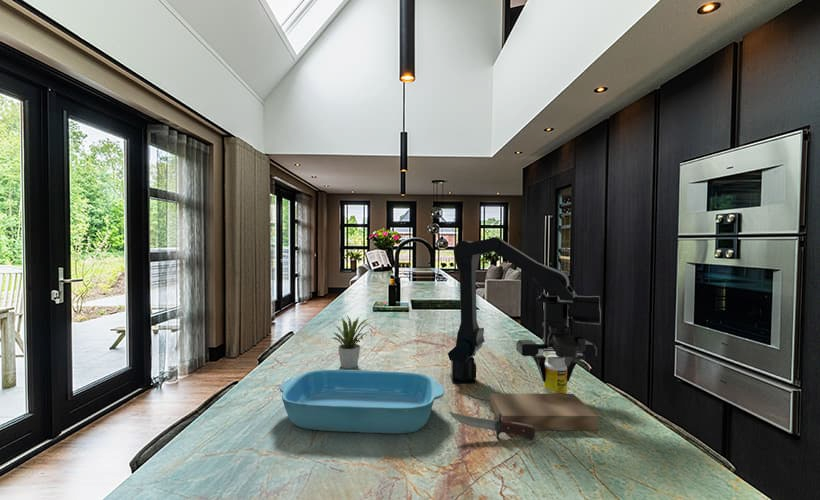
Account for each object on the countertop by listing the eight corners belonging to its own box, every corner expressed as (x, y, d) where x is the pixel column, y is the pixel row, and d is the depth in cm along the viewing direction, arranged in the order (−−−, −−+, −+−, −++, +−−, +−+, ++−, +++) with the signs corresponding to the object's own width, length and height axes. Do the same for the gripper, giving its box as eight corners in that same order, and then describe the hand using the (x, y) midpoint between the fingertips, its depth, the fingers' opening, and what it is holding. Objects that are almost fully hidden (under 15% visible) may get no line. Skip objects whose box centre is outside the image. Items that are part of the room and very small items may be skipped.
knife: (448, 437, 76) (448, 412, 76) (448, 434, 77) (448, 409, 77) (535, 440, 75) (535, 415, 75) (533, 436, 76) (533, 412, 76)
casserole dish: (441, 398, 96) (442, 370, 96) (446, 443, 74) (446, 407, 74) (298, 394, 98) (298, 366, 98) (260, 438, 76) (260, 402, 76)
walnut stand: (502, 429, 79) (502, 415, 79) (489, 405, 91) (490, 393, 91) (598, 430, 79) (598, 416, 79) (573, 406, 91) (573, 393, 91)
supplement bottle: (557, 402, 93) (558, 361, 93) (539, 395, 98) (539, 355, 98) (571, 397, 96) (571, 357, 96) (552, 390, 101) (552, 352, 101)
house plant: (384, 364, 123) (384, 313, 123) (356, 376, 111) (356, 320, 111) (350, 357, 131) (351, 309, 130) (321, 367, 119) (321, 315, 119)
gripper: (529, 327, 89) (528, 393, 89) (608, 327, 89) (608, 393, 89) (515, 318, 100) (515, 377, 100) (586, 318, 100) (585, 377, 100)
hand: (555, 381), depth 97 cm, fingers closed on supplement bottle, 5 cm apart
